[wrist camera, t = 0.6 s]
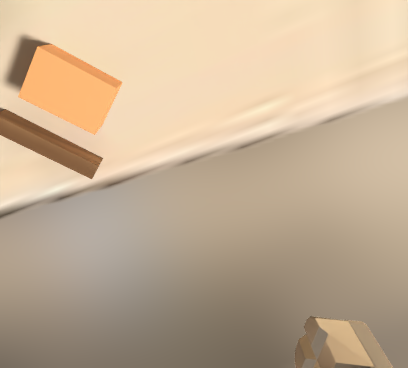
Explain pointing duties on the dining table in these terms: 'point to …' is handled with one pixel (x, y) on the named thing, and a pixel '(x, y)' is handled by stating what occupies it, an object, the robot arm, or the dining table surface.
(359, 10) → the dining table surface
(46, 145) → the walnut board
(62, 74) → the orange block
